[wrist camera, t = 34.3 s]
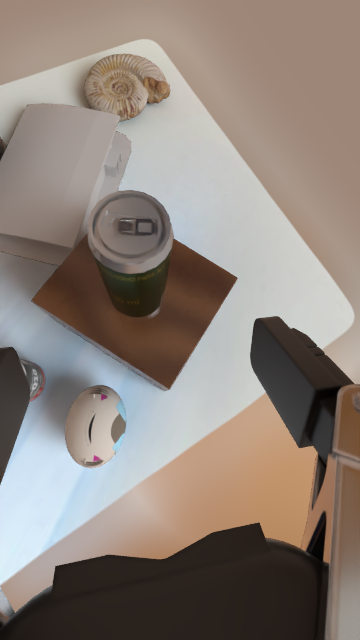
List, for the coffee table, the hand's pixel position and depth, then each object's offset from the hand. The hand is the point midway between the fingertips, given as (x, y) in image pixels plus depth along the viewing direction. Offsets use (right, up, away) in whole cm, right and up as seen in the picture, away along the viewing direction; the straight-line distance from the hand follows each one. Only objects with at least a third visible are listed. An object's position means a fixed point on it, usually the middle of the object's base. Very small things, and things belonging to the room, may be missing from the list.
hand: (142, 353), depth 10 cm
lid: (-3, +4, +20) cm, 21 cm away
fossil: (-7, +36, +36) cm, 51 cm away
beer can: (-3, +4, +19) cm, 20 cm away
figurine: (-8, -11, +24) cm, 27 cm away
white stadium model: (-15, +20, +31) cm, 40 cm away
